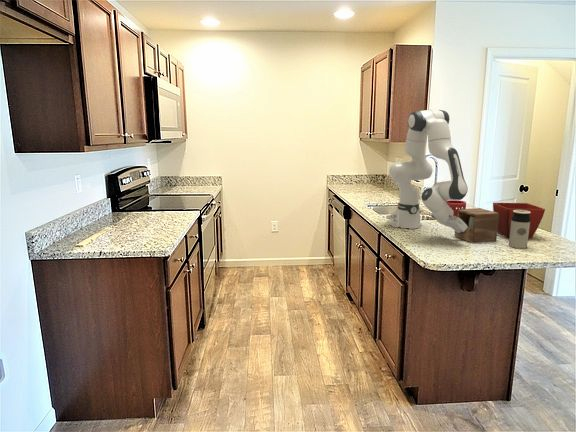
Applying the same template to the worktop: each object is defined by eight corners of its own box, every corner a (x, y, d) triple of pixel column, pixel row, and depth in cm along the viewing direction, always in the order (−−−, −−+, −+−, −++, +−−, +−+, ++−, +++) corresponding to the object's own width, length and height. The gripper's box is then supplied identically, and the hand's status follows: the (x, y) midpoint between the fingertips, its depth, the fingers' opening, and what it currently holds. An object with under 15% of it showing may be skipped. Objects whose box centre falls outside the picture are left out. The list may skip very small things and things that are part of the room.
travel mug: (508, 243, 204) (512, 209, 200) (526, 245, 200) (531, 210, 196) (508, 247, 197) (512, 211, 194) (526, 249, 193) (531, 213, 190)
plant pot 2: (523, 231, 228) (526, 202, 225) (542, 240, 210) (546, 209, 206) (489, 231, 229) (492, 202, 226) (504, 240, 211) (508, 208, 207)
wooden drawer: (451, 236, 217) (452, 223, 216) (476, 234, 221) (477, 222, 219) (467, 242, 205) (468, 229, 203) (493, 240, 209) (495, 227, 207)
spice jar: (465, 235, 214) (467, 216, 212) (473, 235, 216) (475, 215, 213) (472, 238, 210) (474, 217, 208) (479, 237, 211) (481, 217, 209)
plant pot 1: (459, 217, 266) (460, 199, 264) (468, 221, 253) (470, 203, 251) (439, 217, 266) (441, 199, 263) (448, 221, 253) (449, 203, 251)
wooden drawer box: (455, 236, 218) (458, 209, 215) (477, 234, 222) (480, 208, 219) (473, 243, 205) (476, 214, 202) (496, 241, 209) (499, 213, 205)
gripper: (461, 213, 196) (476, 231, 200) (436, 206, 215) (450, 222, 219) (452, 222, 196) (468, 240, 200) (428, 214, 215) (443, 231, 219)
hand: (458, 231), depth 210 cm, fingers closed, pressing on wooden drawer
